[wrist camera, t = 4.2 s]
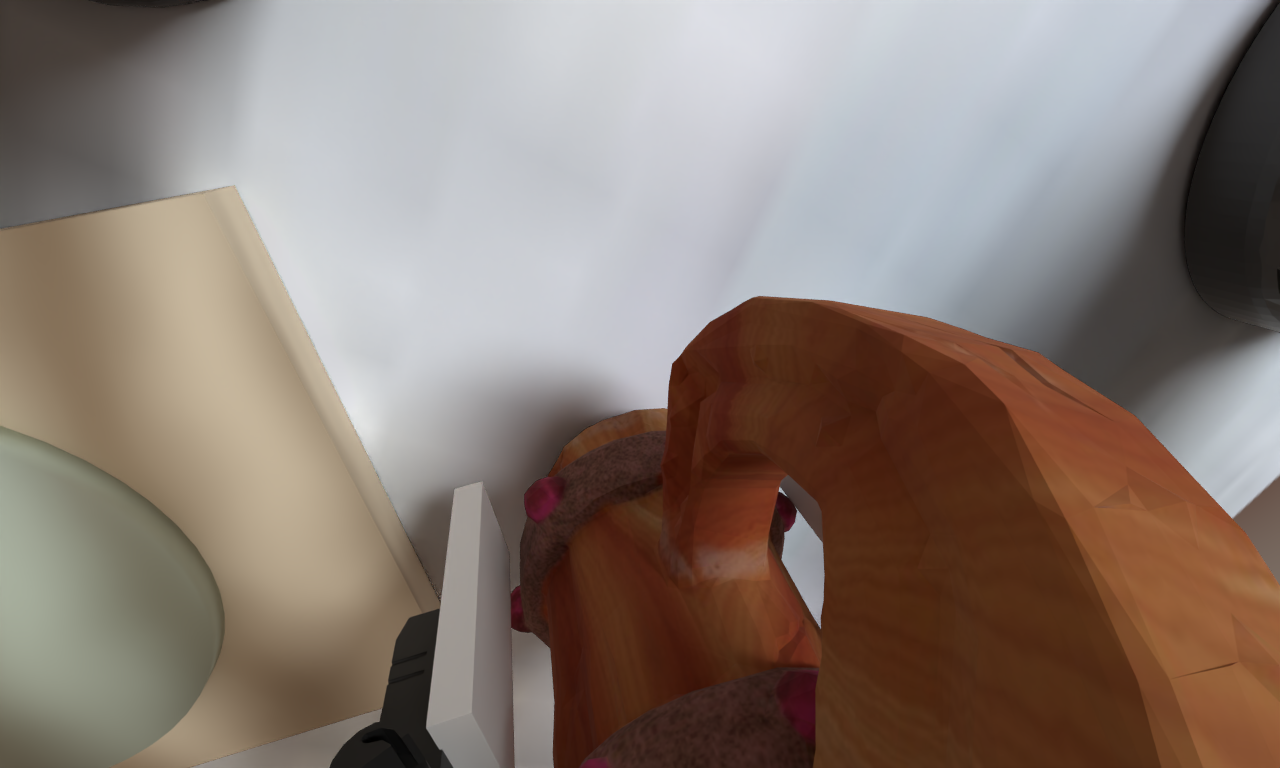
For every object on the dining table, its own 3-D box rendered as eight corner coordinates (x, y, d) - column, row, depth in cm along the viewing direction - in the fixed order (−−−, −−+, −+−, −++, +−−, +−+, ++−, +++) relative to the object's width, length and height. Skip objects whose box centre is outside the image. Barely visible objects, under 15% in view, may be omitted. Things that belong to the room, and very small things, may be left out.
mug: (699, 590, 22) (983, 1284, 9) (495, 593, 20) (475, 1537, 7) (821, 233, 16) (2100, 702, 3) (555, 177, 14) (1284, 1052, 1)
